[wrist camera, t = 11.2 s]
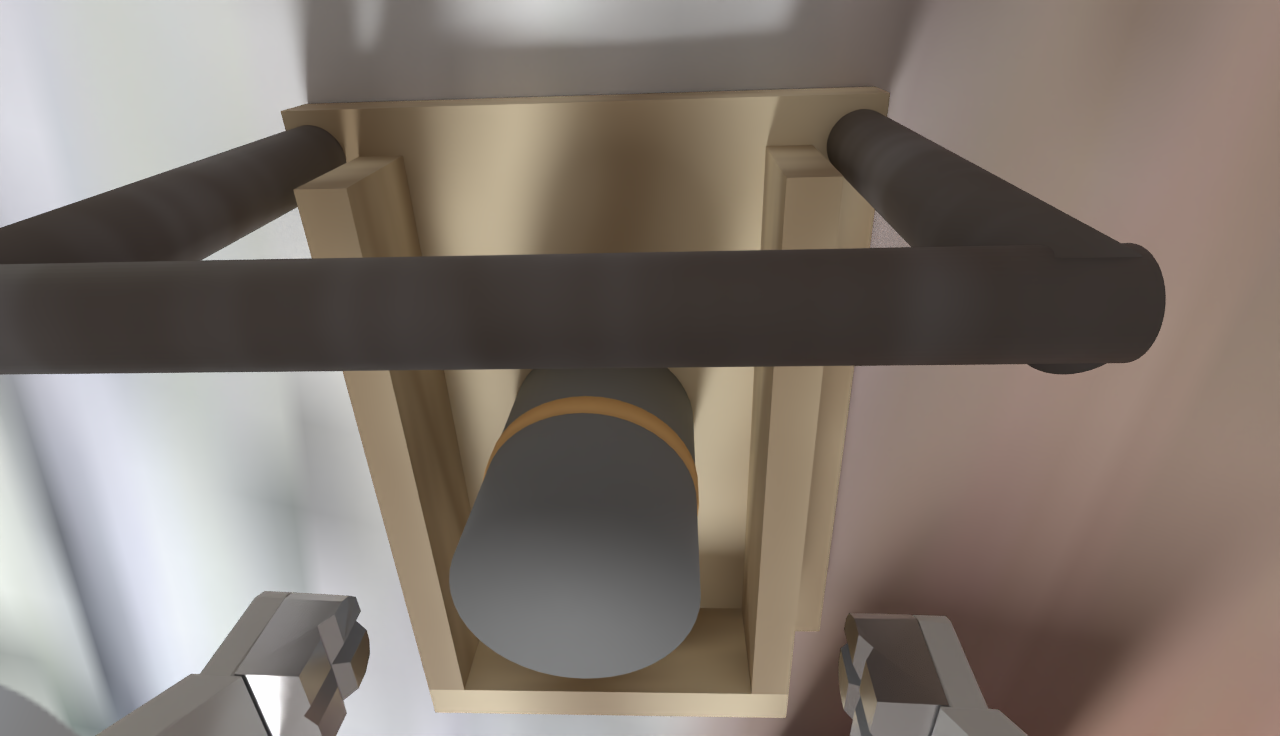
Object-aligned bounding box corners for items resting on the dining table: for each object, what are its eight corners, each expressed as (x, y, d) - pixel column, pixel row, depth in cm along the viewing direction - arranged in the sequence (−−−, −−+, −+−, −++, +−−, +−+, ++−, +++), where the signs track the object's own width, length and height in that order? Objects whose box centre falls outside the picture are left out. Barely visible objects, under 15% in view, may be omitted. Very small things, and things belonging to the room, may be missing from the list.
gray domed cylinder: (696, 340, 17) (705, 495, 12) (694, 495, 19) (701, 682, 14) (501, 341, 17) (425, 492, 12) (523, 494, 20) (466, 678, 14)
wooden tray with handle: (883, 86, 15) (1222, 222, 6) (818, 602, 23) (921, 1020, 13) (298, 103, 16) (-233, 252, 7) (423, 599, 23) (261, 994, 14)
